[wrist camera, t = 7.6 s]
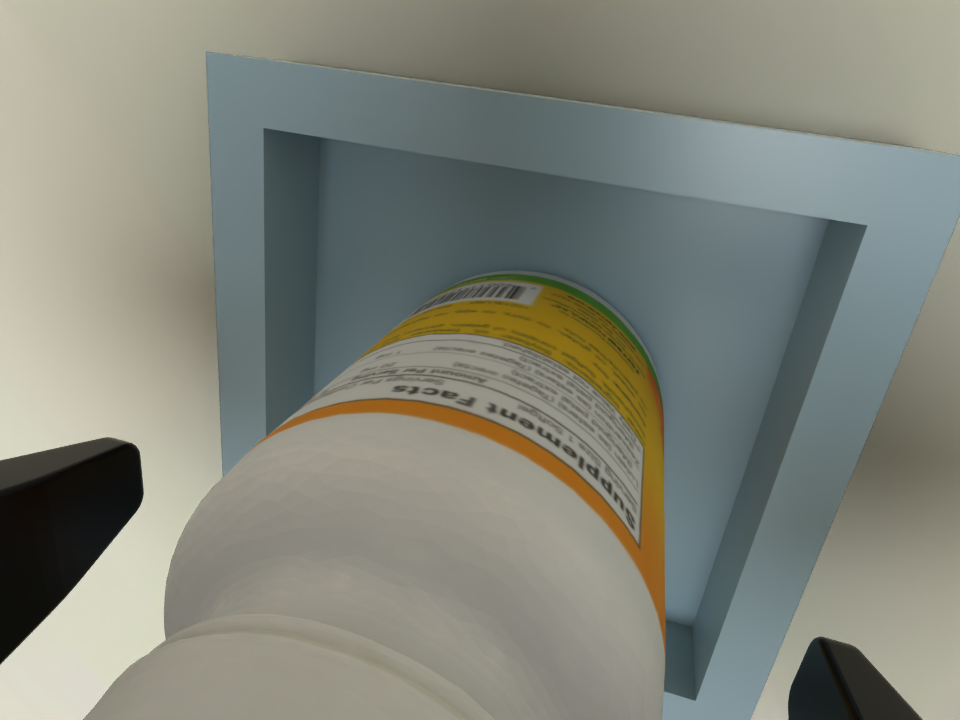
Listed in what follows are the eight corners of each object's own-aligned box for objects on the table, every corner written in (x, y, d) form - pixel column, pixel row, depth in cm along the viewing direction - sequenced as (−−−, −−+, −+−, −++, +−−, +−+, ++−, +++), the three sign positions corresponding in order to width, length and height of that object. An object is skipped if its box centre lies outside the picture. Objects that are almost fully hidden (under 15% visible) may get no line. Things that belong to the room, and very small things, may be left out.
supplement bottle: (553, 556, 14) (378, 1287, 5) (354, 410, 14) (-146, 910, 5) (727, 380, 12) (907, 1178, 3) (487, 205, 12) (-21, 504, 3)
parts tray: (914, 147, 10) (982, 159, 8) (725, 654, 15) (735, 754, 12) (289, 61, 12) (206, 52, 10) (286, 526, 17) (227, 591, 15)
